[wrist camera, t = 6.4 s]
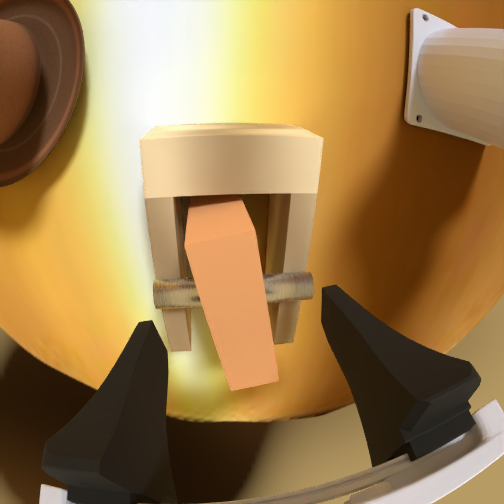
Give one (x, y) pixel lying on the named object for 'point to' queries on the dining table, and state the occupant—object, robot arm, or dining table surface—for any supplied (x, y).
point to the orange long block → (231, 287)
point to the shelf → (232, 182)
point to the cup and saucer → (36, 80)
